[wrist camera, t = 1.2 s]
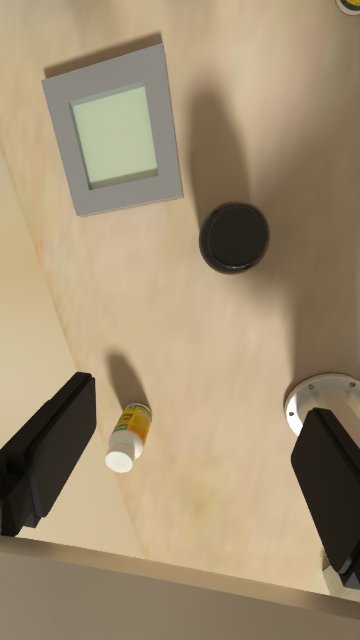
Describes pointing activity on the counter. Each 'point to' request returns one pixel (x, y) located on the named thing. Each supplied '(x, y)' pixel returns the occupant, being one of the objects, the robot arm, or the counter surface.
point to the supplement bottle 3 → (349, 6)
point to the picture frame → (116, 132)
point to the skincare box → (339, 586)
